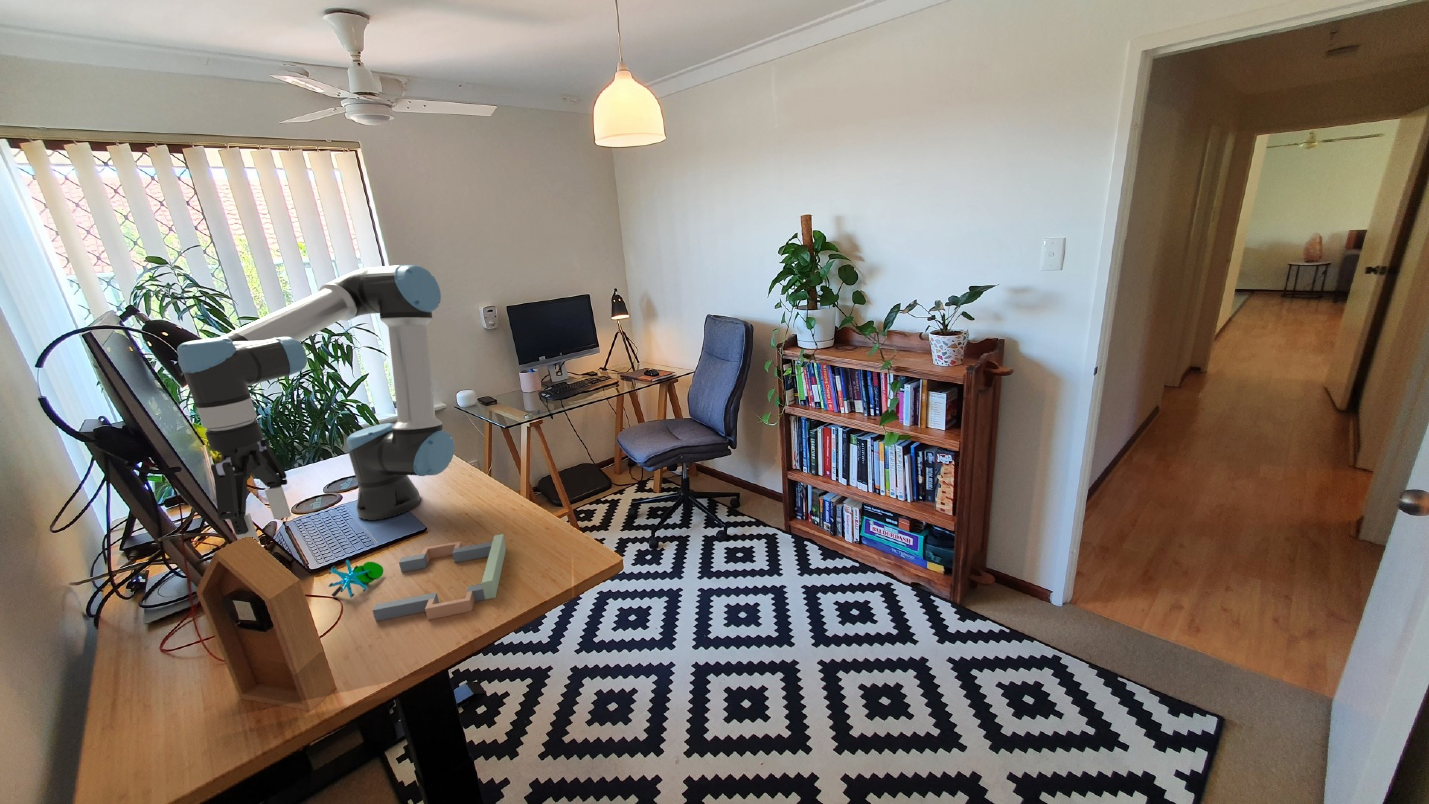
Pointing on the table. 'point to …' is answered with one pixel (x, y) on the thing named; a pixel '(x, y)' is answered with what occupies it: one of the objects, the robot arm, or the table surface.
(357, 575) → the stick construction toy
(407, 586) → the table surface
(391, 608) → the wall
